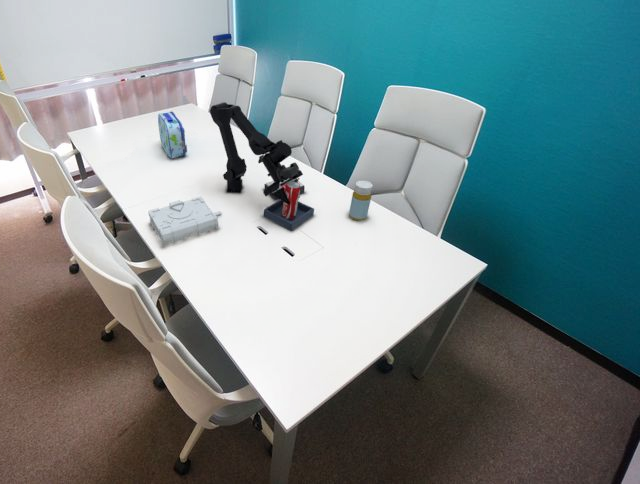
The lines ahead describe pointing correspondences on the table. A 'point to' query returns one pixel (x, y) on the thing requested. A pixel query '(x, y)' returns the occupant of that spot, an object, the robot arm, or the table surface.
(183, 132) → the lunch box
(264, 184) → the calculator
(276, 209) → the tray
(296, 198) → the beverage can
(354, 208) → the bottle
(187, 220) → the grey case
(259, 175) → the table surface
